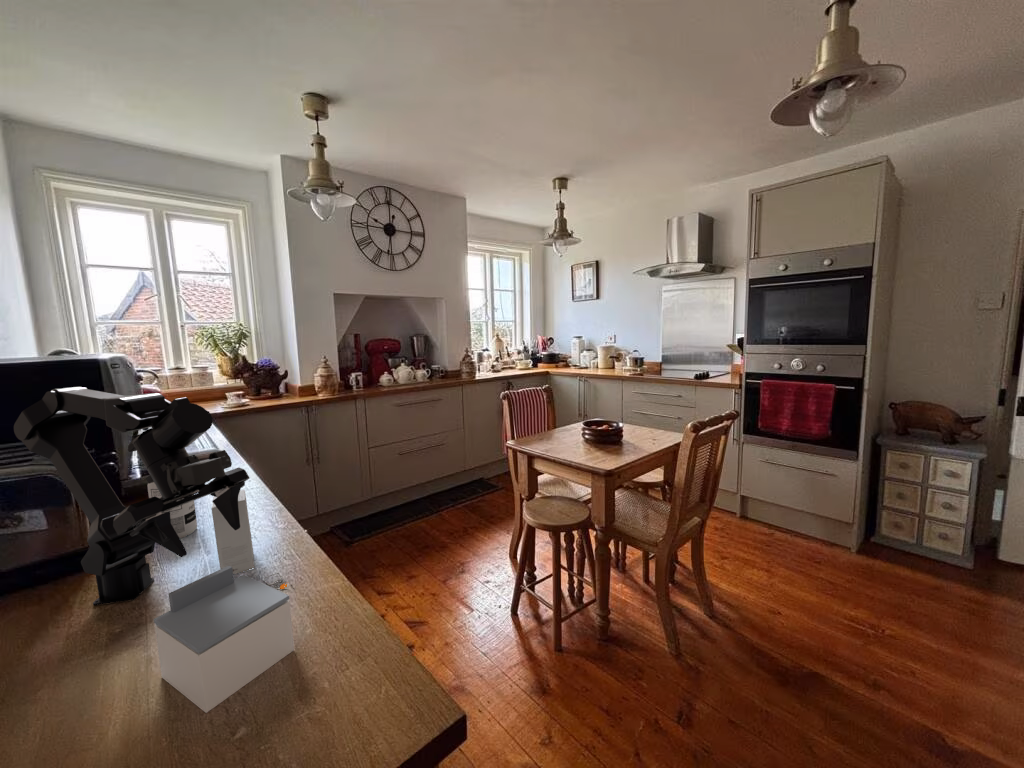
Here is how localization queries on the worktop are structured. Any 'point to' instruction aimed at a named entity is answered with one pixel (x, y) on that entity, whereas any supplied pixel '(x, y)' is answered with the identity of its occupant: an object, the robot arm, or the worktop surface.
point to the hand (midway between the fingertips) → (212, 541)
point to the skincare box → (234, 538)
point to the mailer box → (226, 658)
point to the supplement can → (178, 514)
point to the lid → (216, 608)
